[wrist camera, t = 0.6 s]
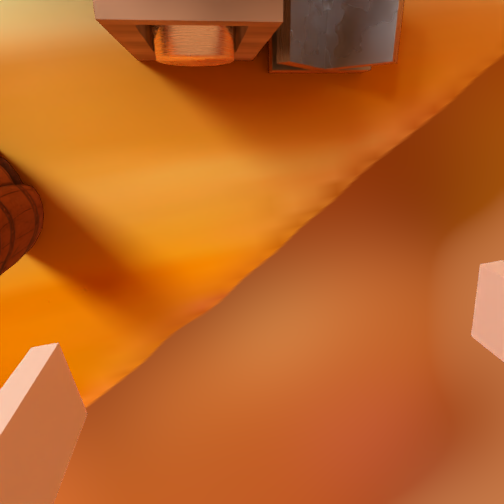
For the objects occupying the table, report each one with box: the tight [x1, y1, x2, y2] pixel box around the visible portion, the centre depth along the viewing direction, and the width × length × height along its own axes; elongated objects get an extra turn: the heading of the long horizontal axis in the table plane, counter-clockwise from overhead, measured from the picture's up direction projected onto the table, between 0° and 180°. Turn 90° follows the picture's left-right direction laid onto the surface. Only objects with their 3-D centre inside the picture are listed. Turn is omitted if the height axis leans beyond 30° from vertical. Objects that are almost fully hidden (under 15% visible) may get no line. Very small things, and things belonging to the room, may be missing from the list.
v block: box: [269, 0, 404, 73], centre depth 28 cm, size 7×10×6 cm
